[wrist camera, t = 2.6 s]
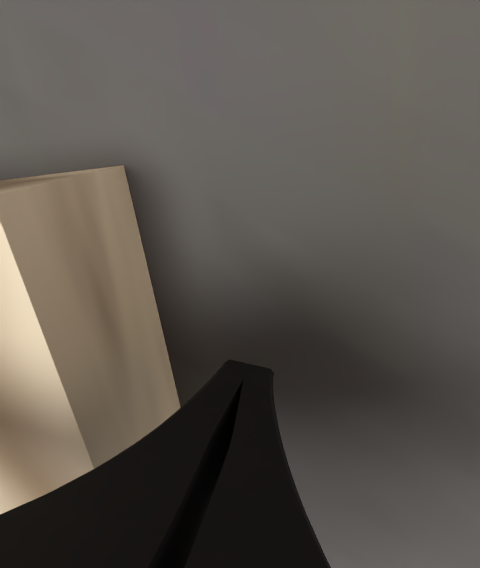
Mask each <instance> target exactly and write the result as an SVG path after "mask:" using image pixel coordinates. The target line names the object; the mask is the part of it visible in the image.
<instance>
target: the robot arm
mask: <svg viewBox="0 0 480 568" xmlns="http://www.w3.org/2000/svg"><path fill="white" fill-rule="evenodd" d="M273 374H274V373H273V371H272V370H271V369H269V368H264V367H260V366H255V365H251V364H246V363H242V362H237V361H233V360H228V361H226V362H225V363H224V364H223V366H222V367H221V368H220V369H219V370H218V372H217V373H216V374H215V375H214V376H213V377H212V378H211V379H210V380H209V381H208V382H207V383H206V384H205V385H204V386H203V387H202V388H201V389H200V390H199V391H198V392H197V393H196V394H195V395H194V396H193V397H192V398H191V399H190V400H189V401H188V402H187V403H185V404H184V405H183V406H182V407H181V408H180V409H179V410H177V411H176V412H175V413H174V414H173V415H171V416H170V417H169V418H168V419H167V420H165V421H164V422H163V423H162V424H160V425H159V426H158V427H157V428H155V429H154V430H153V431H151V432H150V433H149V434H147V435H146V436H144V437H143V438H142V439H140V440H139V441H137V442H136V443H135V444H133V445H132V446H130V447H128V448H127V449H125V450H124V451H122V452H121V453H119V454H118V455H116V456H114V457H113V458H111V459H110V460H108V461H106V462H105V463H103V464H101V465H100V466H98V467H96V468H95V469H93V470H91V471H89V472H87V473H85V474H83V475H82V476H80V477H78V478H76V479H74V480H72V481H70V482H68V483H66V484H65V485H63V486H61V487H59V488H57V489H55V490H53V491H51V492H49V493H47V494H45V495H43V496H41V497H39V498H36V499H34V500H32V501H30V502H27V503H25V504H23V505H20V506H18V507H16V508H14V509H11V510H9V511H7V512H5V513H2V514H0V568H331V567H330V565H329V563H328V561H327V559H326V557H325V555H324V553H323V550H322V548H321V546H320V544H319V541H318V539H317V537H316V535H315V533H314V530H313V528H312V526H311V524H310V521H309V519H308V517H307V515H306V512H305V510H304V507H303V505H302V502H301V499H300V497H299V494H298V492H297V489H296V486H295V483H294V480H293V477H292V474H291V471H290V468H289V465H288V462H287V458H286V455H285V451H284V448H283V444H282V440H281V436H280V432H279V427H278V422H277V417H276V411H275V405H274V396H273Z"/></svg>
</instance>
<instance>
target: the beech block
mask: <svg viewBox="0 0 480 568" xmlns="http://www.w3.org/2000/svg"><path fill="white" fill-rule="evenodd" d="M180 408H181V407H180V403H179V399H178V395H177V390H176V386H175V382H174V378H173V373H172V369H171V365H170V361H169V356H168V352H167V348H166V344H165V339H164V335H163V331H162V327H161V322H160V318H159V314H158V310H157V305H156V301H155V297H154V293H153V288H152V284H151V280H150V276H149V271H148V267H147V263H146V259H145V254H144V250H143V246H142V242H141V237H140V233H139V229H138V225H137V220H136V216H135V212H134V208H133V203H132V199H131V195H130V191H129V186H128V182H127V178H126V174H125V169H124V165H122V166H114V167H106V168H98V169H90V170H81V171H73V172H65V173H57V174H49V175H40V176H32V177H24V178H16V179H8V180H0V514H2V513H5V512H7V511H9V510H11V509H14V508H16V507H18V506H20V505H23V504H25V503H27V502H30V501H32V500H34V499H36V498H39V497H41V496H43V495H45V494H47V493H49V492H51V491H53V490H55V489H57V488H59V487H61V486H63V485H65V484H66V483H68V482H70V481H72V480H74V479H76V478H78V477H80V476H82V475H83V474H85V473H87V472H89V471H91V470H93V469H95V468H96V467H98V466H100V465H101V464H103V463H105V462H106V461H108V460H110V459H111V458H113V457H114V456H116V455H118V454H119V453H121V452H122V451H124V450H125V449H127V448H128V447H130V446H132V445H133V444H135V443H136V442H137V441H139V440H140V439H142V438H143V437H144V436H146V435H147V434H149V433H150V432H151V431H153V430H154V429H155V428H157V427H158V426H159V425H160V424H162V423H163V422H164V421H165V420H167V419H168V418H169V417H170V416H171V415H173V414H174V413H175V412H176V411H177V410H179V409H180Z"/></svg>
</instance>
